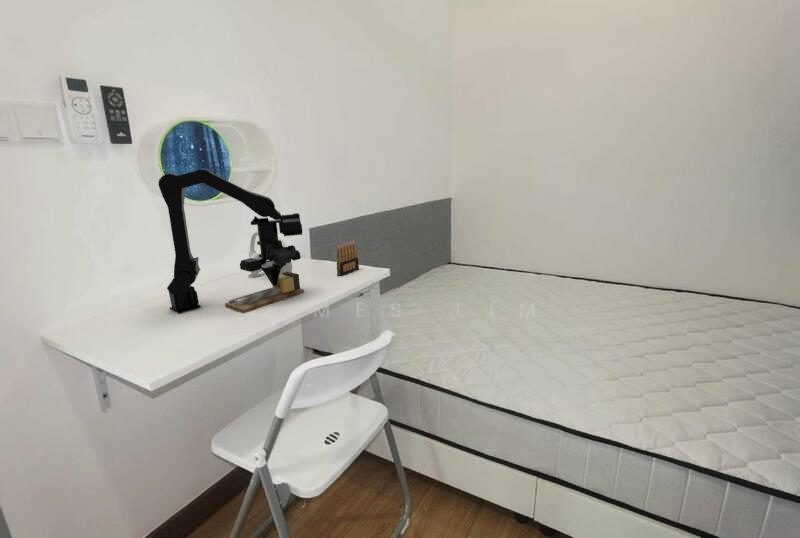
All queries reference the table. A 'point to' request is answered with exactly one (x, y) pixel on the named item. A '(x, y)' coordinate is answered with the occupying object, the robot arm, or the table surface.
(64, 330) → the table surface
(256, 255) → the headset
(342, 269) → the ammunition clip
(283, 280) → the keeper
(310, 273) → the table surface
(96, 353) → the table surface
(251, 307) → the rail board
